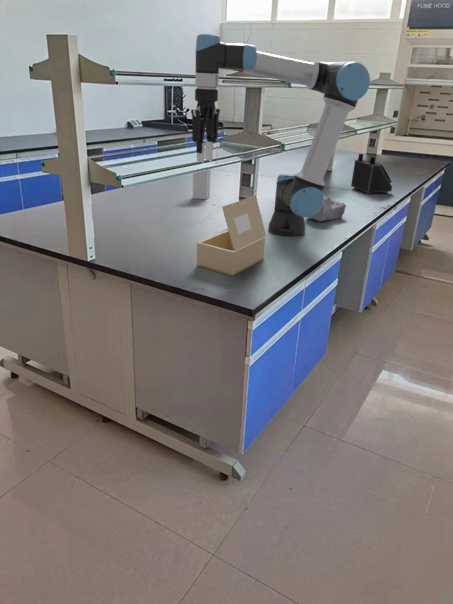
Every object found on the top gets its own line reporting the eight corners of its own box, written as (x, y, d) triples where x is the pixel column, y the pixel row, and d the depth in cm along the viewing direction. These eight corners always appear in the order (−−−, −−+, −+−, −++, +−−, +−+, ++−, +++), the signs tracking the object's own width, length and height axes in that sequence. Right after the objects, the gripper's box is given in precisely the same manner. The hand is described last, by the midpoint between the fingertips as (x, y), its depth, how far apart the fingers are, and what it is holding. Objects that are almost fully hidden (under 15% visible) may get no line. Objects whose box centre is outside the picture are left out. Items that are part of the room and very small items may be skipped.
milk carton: (206, 199, 242) (207, 160, 234) (192, 198, 244) (193, 159, 235) (209, 196, 249) (210, 158, 241) (196, 195, 250) (196, 157, 242)
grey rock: (303, 194, 214) (325, 189, 229) (300, 218, 219) (322, 212, 233) (329, 200, 207) (350, 194, 221) (325, 225, 211) (347, 217, 226)
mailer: (229, 250, 176) (230, 229, 172) (263, 259, 169) (265, 237, 165) (196, 265, 160) (197, 242, 157) (232, 276, 154) (233, 252, 150)
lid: (254, 195, 162) (256, 195, 162) (265, 236, 165) (266, 236, 165) (221, 206, 147) (223, 206, 147) (234, 251, 150) (235, 251, 150)
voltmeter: (391, 193, 276) (398, 157, 268) (367, 195, 270) (373, 158, 262) (373, 187, 290) (379, 153, 281) (350, 188, 284) (356, 153, 275)
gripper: (212, 87, 167) (209, 157, 177) (181, 87, 154) (180, 163, 164) (230, 89, 163) (227, 160, 173) (200, 88, 150) (198, 166, 160)
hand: (204, 161), depth 168 cm, fingers open, 4 cm apart
